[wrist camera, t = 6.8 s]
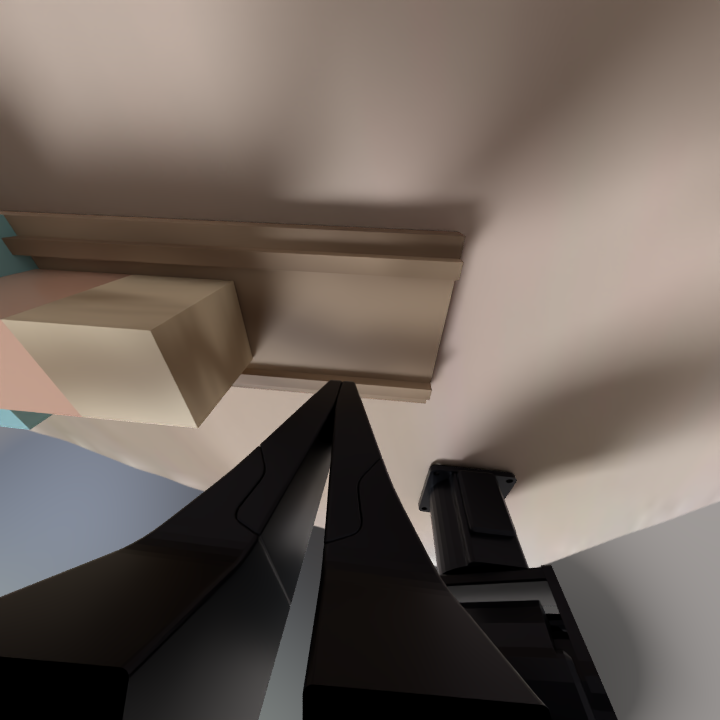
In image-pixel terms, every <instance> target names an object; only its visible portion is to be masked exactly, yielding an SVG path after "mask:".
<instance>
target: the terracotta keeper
mask: <svg viewBox="0 0 720 720" xmlns="http://www.w3.org/2000/svg"><path fill="white" fill-rule="evenodd" d="M127 276H130V274H114V273H97V272H81V271H64V270H48V269H33V270H29V271H25V272H20V273H16V274H12V275H7V276H3V277H0V409H7V410H17V411H27V412H37V413H47V414H57V415H67V416H77V417H82V416H81V415H80V414H79V413H78V411H77V410H76V409H75V408H74V407H73V405H72V404H71V403H70V402H69V401H68V399H67V398H66V397H65V396H64V395H63V393H62V392H61V391H60V390H59V389H58V387H57V386H56V385H55V384H54V383H53V381H52V380H51V379H50V378H49V377H48V375H47V374H46V373H45V372H44V371H43V369H42V368H41V367H40V366H39V365H38V363H37V362H36V361H35V360H34V359H33V357H32V356H31V355H30V354H29V353H28V351H27V350H26V349H25V348H24V347H23V345H22V344H21V343H20V342H19V341H18V339H17V338H16V337H15V336H14V335H13V334H12V332H11V331H10V330H9V329H8V328H7V326H6V325H5V324H4V323H3V322H2V320H1V319H3V318H6V317H9V316H12V315H15V314H18V313H21V312H24V311H27V310H30V309H33V308H36V307H39V306H42V305H45V304H48V303H50V302H53V301H56V300H59V299H62V298H65V297H68V296H71V295H74V294H77V293H80V292H83V291H86V290H89V289H92V288H95V287H97V286H100V285H103V284H106V283H109V282H112V281H115V280H118V279H121V278H124V277H127Z"/></svg>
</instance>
